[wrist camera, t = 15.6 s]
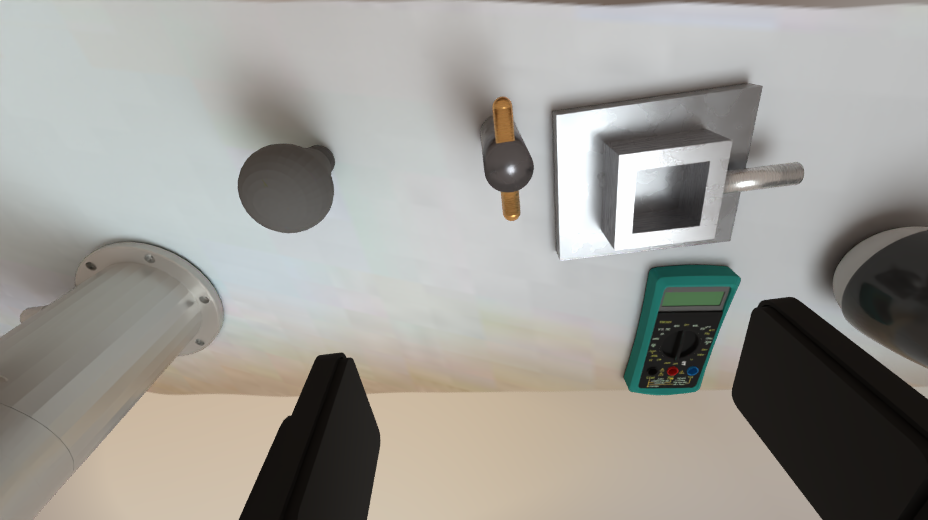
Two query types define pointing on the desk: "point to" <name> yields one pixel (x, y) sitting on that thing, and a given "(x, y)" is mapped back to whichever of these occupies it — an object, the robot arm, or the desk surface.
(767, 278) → the desk surface
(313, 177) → the light bulb
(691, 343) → the digital multimeter
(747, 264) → the desk surface
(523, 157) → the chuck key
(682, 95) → the block
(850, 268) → the pump dispenser
